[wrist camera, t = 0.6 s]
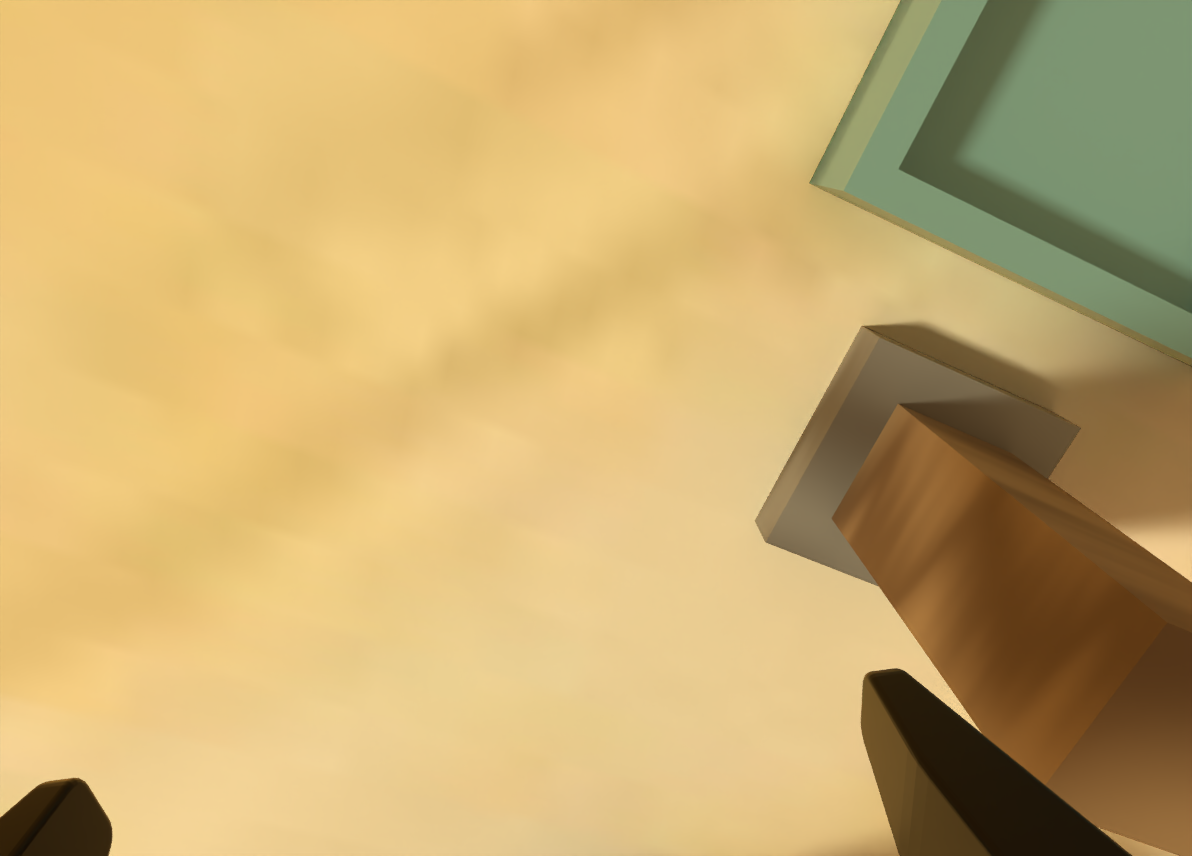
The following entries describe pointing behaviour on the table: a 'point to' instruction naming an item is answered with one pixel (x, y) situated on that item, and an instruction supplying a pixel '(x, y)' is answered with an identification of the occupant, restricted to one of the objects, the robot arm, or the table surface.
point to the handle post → (1003, 579)
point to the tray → (1037, 149)
